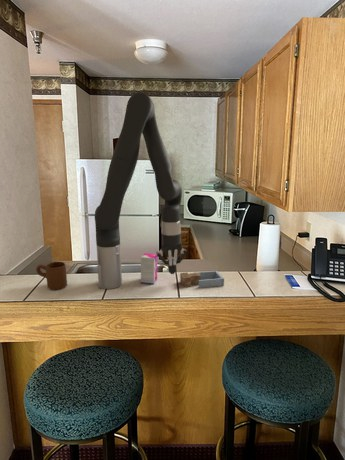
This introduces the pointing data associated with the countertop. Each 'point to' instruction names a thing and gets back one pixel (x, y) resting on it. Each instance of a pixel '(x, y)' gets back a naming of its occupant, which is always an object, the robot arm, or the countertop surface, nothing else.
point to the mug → (54, 275)
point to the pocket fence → (210, 282)
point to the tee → (189, 279)
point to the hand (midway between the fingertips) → (172, 273)
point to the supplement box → (148, 268)
